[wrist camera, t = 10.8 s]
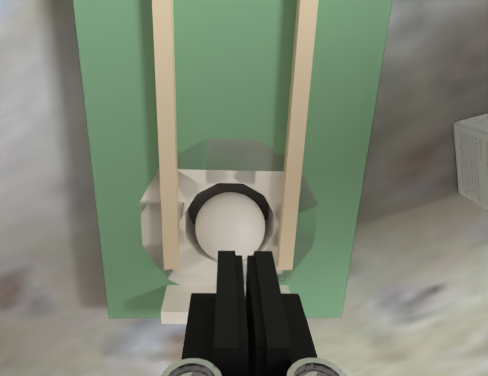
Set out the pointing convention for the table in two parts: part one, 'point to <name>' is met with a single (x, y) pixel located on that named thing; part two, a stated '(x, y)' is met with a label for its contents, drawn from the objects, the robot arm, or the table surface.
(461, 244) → the table surface
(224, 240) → the ball
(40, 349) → the table surface
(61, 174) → the table surface
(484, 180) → the skincare box
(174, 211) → the green
